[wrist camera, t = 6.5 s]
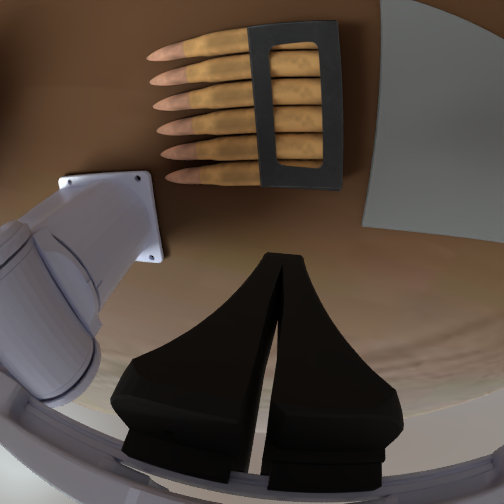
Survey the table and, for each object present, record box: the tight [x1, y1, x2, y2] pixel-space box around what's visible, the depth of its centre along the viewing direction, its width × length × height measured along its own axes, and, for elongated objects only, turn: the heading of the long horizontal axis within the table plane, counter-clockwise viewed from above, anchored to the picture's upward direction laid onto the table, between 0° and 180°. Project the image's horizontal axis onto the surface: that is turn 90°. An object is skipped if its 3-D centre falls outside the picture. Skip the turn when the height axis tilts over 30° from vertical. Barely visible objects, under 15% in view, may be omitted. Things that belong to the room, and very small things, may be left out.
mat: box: [362, 0, 504, 243], centre depth 15 cm, size 15×17×1 cm
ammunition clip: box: [147, 20, 343, 191], centre depth 16 cm, size 11×2×12 cm
